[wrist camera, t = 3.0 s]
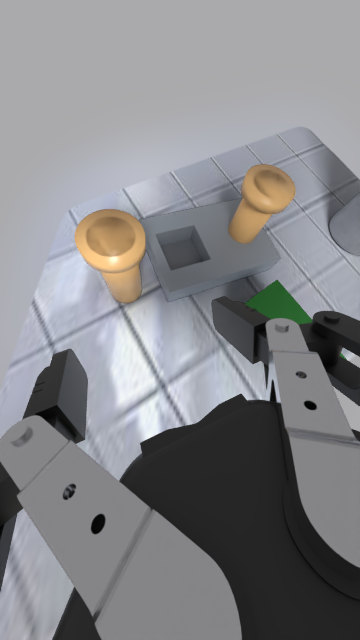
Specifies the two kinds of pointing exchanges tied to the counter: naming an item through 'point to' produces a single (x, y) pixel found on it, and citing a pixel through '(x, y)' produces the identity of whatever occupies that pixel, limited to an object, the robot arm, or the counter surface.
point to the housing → (218, 236)
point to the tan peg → (114, 250)
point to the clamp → (279, 305)
